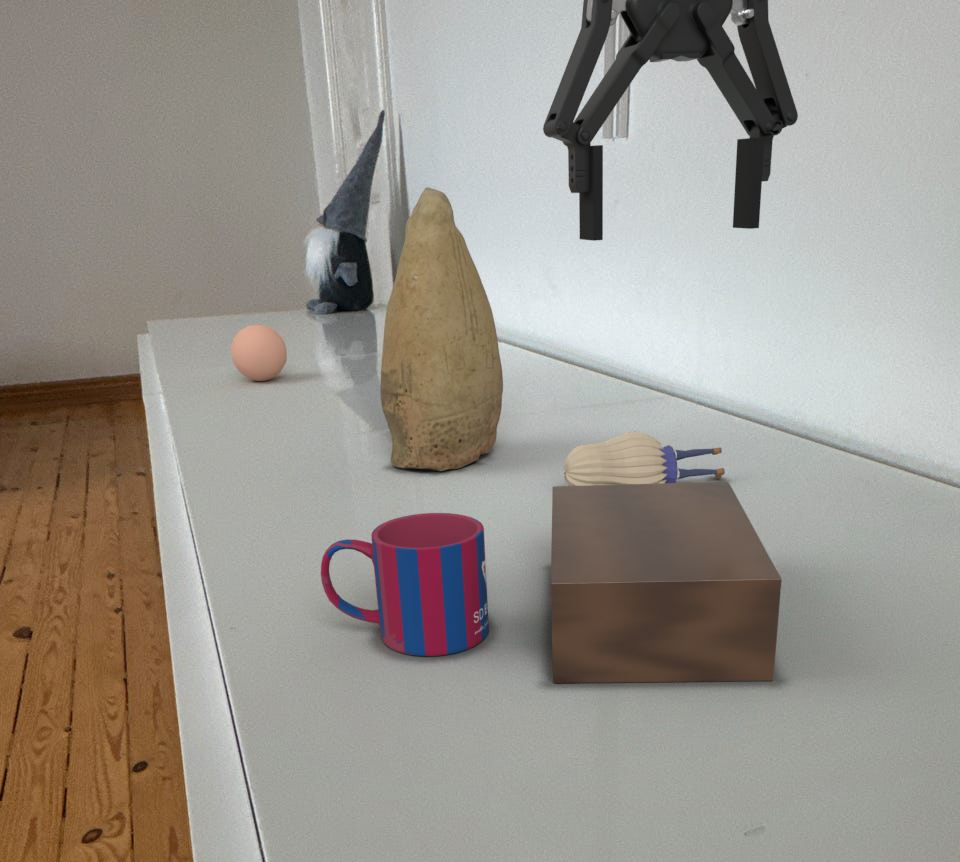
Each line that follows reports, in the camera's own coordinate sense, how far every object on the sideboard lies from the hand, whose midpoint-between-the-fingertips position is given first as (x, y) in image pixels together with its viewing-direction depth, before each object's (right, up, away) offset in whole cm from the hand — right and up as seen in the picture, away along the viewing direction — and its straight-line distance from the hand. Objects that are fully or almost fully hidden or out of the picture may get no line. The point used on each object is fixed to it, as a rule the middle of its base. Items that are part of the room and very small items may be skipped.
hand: (670, 234), depth 79 cm
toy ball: (-47, +6, +68) cm, 83 cm away
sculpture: (-18, -14, +22) cm, 32 cm away
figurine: (0, -19, +8) cm, 21 cm away
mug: (-19, -32, -16) cm, 41 cm away
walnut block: (-4, -31, -16) cm, 35 cm away
